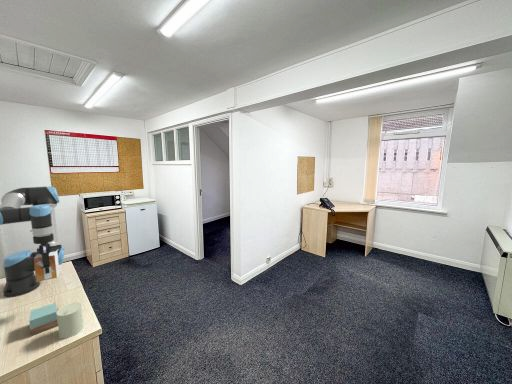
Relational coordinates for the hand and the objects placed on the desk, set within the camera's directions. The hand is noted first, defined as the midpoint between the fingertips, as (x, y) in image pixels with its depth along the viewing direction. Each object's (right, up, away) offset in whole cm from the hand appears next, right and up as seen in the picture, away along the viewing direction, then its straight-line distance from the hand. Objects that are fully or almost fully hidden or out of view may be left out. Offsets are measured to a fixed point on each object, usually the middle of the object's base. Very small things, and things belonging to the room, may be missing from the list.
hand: (48, 275), depth 112 cm
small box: (0, -1, 0) cm, 1 cm away
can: (+23, -22, -11) cm, 34 cm away
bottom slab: (+7, -21, -8) cm, 24 cm away
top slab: (+7, -18, -9) cm, 21 cm away
